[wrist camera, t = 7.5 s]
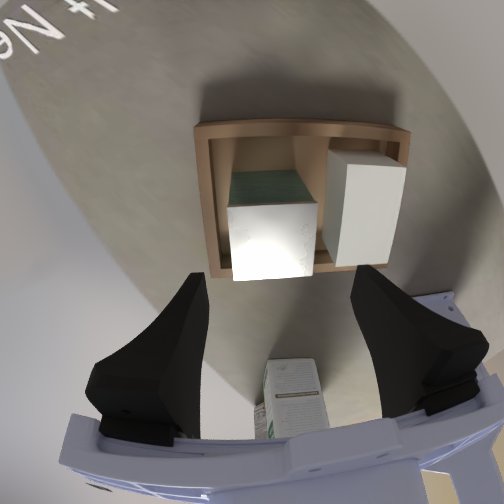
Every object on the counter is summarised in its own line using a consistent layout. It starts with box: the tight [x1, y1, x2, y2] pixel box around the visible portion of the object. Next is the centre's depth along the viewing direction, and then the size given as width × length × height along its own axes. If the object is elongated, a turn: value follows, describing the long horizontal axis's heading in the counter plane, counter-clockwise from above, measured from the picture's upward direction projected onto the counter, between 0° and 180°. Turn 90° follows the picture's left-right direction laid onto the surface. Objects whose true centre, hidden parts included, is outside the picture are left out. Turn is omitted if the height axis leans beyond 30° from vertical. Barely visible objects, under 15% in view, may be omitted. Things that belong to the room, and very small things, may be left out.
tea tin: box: [227, 170, 318, 281], centre depth 18 cm, size 4×4×6 cm
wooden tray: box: [193, 118, 411, 278], centre depth 20 cm, size 14×11×2 cm
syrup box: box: [263, 358, 330, 439], centre depth 27 cm, size 6×6×14 cm
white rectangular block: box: [322, 149, 406, 267], centre depth 18 cm, size 4×7×4 cm, turn 2°
